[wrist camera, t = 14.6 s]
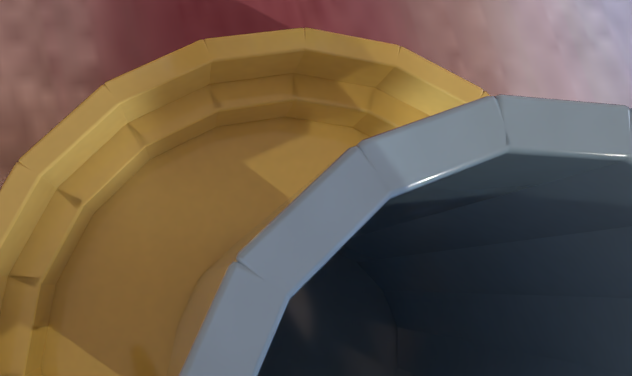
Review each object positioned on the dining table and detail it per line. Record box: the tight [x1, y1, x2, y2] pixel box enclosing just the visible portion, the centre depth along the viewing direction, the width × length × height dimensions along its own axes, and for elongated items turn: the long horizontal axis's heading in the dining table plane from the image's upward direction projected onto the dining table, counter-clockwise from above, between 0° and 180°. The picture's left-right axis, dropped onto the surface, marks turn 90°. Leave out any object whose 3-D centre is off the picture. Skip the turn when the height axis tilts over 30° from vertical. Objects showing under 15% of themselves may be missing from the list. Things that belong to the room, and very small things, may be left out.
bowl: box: [0, 28, 490, 376], centre depth 15 cm, size 16×16×4 cm
